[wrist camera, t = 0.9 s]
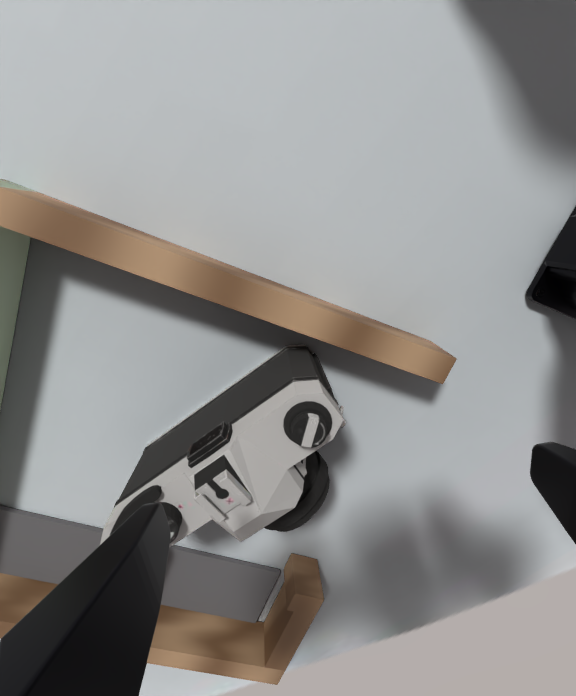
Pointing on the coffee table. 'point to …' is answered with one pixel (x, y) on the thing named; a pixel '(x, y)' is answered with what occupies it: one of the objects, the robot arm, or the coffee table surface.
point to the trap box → (258, 301)
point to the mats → (180, 578)
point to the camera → (243, 454)
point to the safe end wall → (10, 286)
